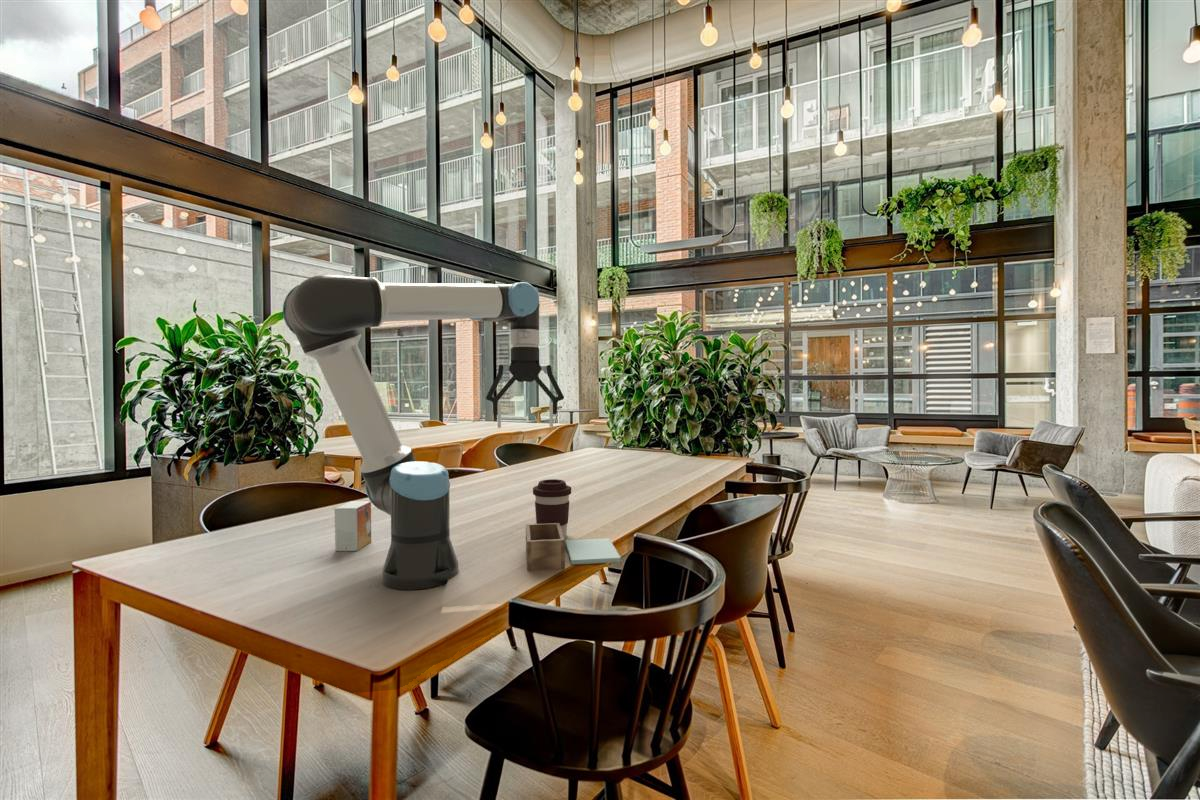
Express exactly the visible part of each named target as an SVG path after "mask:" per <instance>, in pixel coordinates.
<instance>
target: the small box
mask: <svg viewBox="0 0 1200 800" xmlns="http://www.w3.org/2000/svg"><path fill="white" fill-rule="evenodd" d="M371 542H372V502H371V501H370V500H369V501H363V500H362V501H361V500H358V501H356V500H355V501H354V500H353V501H352V500H351V501H348V502H347V503H344V504H343V505H340V506H338V507H335V508H334V546H335V547H334V549H335V550H334V551H335V552H357V551H359V550H361V549H362V548H363V547H366V546H367V545H368V544H370V543H371Z"/></svg>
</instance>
